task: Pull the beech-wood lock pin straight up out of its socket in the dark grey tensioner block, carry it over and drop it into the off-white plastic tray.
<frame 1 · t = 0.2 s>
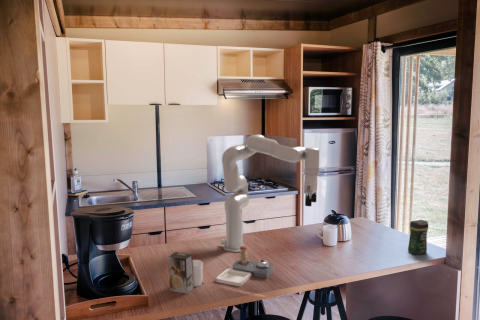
hand: (310, 204, 211), 31 cm above the breakfast bar, fingers open, 9 cm apart
lock pin: (243, 270, 201), point 1 cm above the breakfast bar, touching tensioner block
coffee jar: (417, 252, 228), on the breakfast bar
tensioner block: (252, 273, 199), on the breakfast bar
coffee box: (181, 290, 182), on the breakfast bar
tray: (233, 280, 191), on the breakfast bar
white cup: (194, 284, 188), on the breakfast bar
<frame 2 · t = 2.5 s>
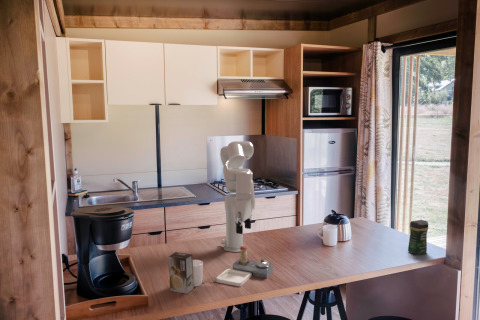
hand: (243, 230, 198), 21 cm above the breakfast bar, fingers open, 9 cm apart
nothing on the breakfast bar moved.
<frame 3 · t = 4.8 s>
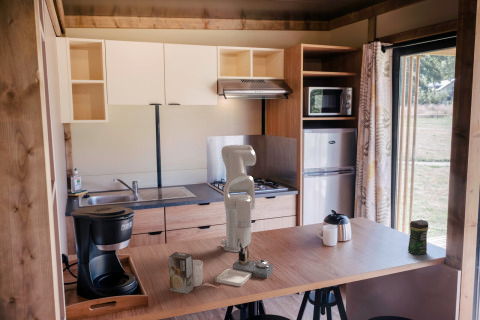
hand: (243, 259, 200), 7 cm above the breakfast bar, fingers closed on lock pin, 3 cm apart
lock pin: (243, 270, 201), point 1 cm above the breakfast bar, touching gripper, tensioner block
everything else where it was.
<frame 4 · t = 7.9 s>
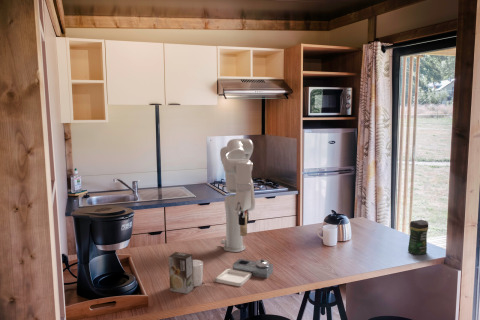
hand: (243, 223, 198), 25 cm above the breakfast bar, fingers closed on lock pin, 3 cm apart
lock pin: (243, 234, 198), point 19 cm above the breakfast bar, touching gripper
everything else where it was.
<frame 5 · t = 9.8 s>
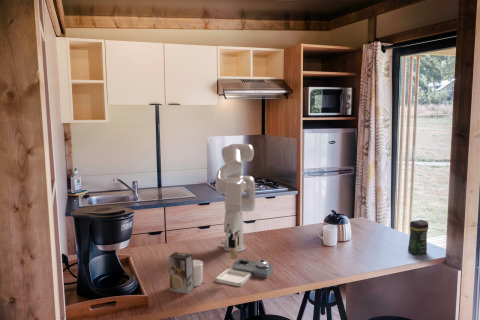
hand: (233, 245, 188), 17 cm above the breakfast bar, fingers closed on lock pin, 3 cm apart
lock pin: (233, 257, 189), point 11 cm above the breakfast bar, touching gripper
everything else where it was.
when the fingers open (9 cm above the breakfast bar, at t = 11.3 s): lock pin drops 2 cm, resting on tray.
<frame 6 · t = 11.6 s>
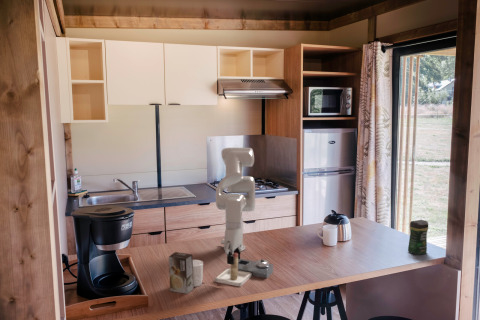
hand: (233, 261, 190), 10 cm above the breakfast bar, fingers open, 6 cm apart
lock pin: (233, 278, 191), point 1 cm above the breakfast bar, touching tray
everything else where it was.
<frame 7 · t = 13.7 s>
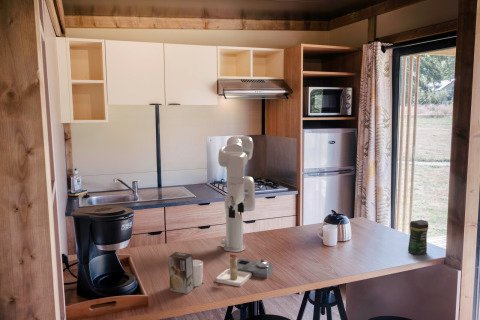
hand: (236, 214, 195), 30 cm above the breakfast bar, fingers open, 9 cm apart
nothing on the breakfast bar moved.
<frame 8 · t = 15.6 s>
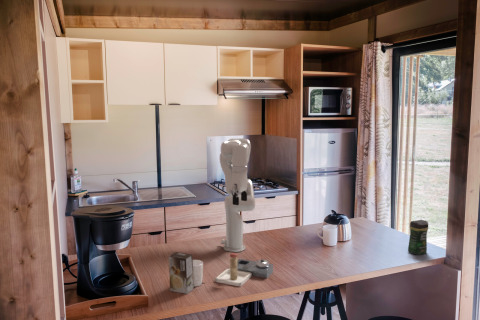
hand: (240, 202, 204), 33 cm above the breakfast bar, fingers open, 9 cm apart
nothing on the breakfast bar moved.
at the end: lock pin inside the target area on the tray (0.0 cm from its centre), point 1.0 cm above the tray's base; the gripper is holding nothing; lock pin inside the target area (0.0 cm from its centre), point 1.0 cm above the breakfast bar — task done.
